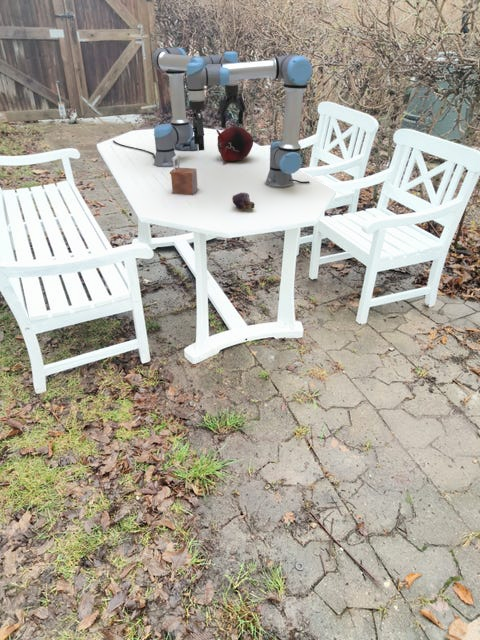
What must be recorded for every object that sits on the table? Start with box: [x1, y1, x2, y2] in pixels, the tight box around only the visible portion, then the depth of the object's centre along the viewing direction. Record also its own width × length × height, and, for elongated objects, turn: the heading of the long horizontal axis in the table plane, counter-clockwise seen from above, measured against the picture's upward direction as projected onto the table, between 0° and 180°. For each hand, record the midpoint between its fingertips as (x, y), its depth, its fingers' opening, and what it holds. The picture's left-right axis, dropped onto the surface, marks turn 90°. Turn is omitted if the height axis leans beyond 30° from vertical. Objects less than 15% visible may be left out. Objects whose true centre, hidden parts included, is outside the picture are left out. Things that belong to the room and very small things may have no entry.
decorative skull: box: [216, 126, 254, 165], centre depth 296 cm, size 21×24×25 cm
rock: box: [232, 192, 256, 211], centre depth 223 cm, size 12×9×10 cm
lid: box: [169, 153, 197, 175], centre depth 241 cm, size 12×9×8 cm
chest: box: [170, 170, 199, 196], centre depth 246 cm, size 12×9×10 cm
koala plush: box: [174, 129, 199, 151], centre depth 321 cm, size 17×18×20 cm
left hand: (232, 125), depth 259 cm, fingers open, 13 cm apart
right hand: (199, 146), depth 225 cm, fingers open, 13 cm apart
